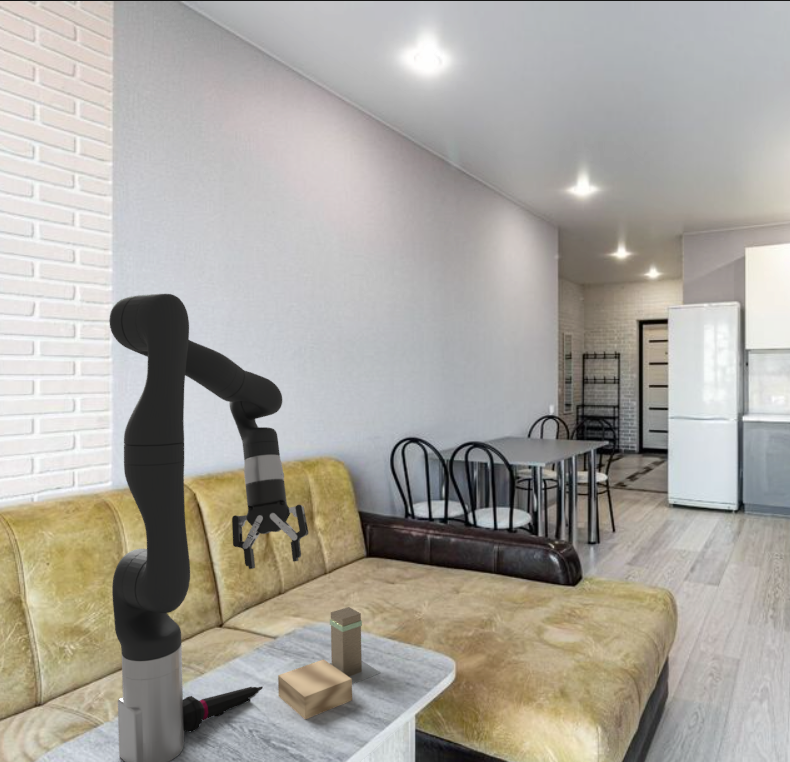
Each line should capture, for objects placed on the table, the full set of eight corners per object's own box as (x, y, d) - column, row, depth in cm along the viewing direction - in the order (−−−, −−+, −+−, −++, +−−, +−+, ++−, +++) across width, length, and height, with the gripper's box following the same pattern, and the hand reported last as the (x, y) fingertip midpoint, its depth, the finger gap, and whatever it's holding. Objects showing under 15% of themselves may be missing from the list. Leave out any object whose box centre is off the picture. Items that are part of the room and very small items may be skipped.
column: (343, 679, 125) (342, 619, 124) (330, 670, 128) (329, 612, 128) (362, 671, 128) (361, 613, 127) (349, 663, 131) (348, 606, 131)
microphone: (261, 703, 124) (168, 736, 109) (258, 671, 126) (166, 700, 111) (278, 703, 121) (185, 738, 106) (275, 671, 122) (182, 701, 107)
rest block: (305, 724, 111) (304, 696, 111) (278, 701, 119) (278, 675, 119) (352, 705, 117) (351, 678, 117) (324, 684, 125) (323, 659, 125)
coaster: (339, 694, 121) (339, 688, 121) (312, 674, 129) (312, 669, 129) (381, 677, 127) (380, 672, 127) (353, 659, 135) (353, 655, 135)
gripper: (223, 485, 121) (231, 572, 116) (296, 472, 121) (307, 559, 116) (234, 488, 128) (242, 570, 124) (303, 476, 128) (314, 558, 124)
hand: (274, 564), depth 120 cm, fingers open, 8 cm apart
